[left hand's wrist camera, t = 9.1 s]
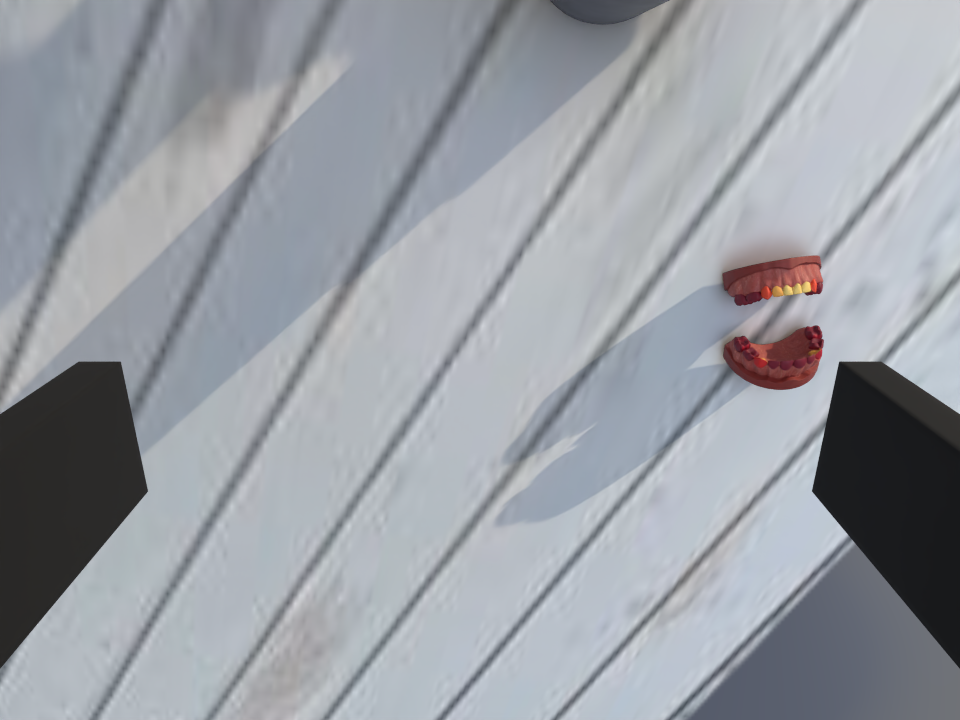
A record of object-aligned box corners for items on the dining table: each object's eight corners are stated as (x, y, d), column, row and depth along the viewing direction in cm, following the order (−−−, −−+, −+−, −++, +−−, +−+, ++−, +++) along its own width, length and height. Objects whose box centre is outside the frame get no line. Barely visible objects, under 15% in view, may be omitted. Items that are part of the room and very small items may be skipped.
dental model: (848, 255, 36) (840, 388, 40) (815, 238, 40) (810, 361, 43) (742, 269, 37) (742, 400, 40) (719, 251, 41) (721, 371, 44)
